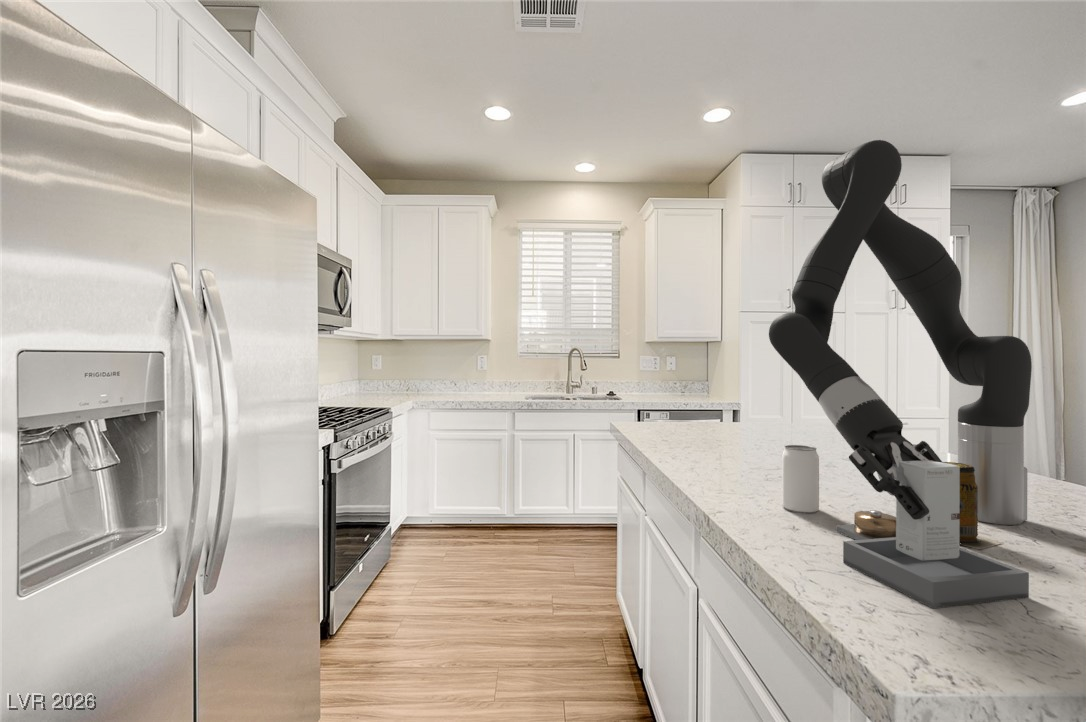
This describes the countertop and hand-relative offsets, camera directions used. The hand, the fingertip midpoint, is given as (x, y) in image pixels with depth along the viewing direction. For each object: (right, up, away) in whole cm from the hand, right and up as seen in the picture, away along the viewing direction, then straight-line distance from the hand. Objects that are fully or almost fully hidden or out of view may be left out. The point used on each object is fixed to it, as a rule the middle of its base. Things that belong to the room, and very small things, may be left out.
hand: (940, 513), depth 68 cm
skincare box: (-1, -6, +2) cm, 6 cm away
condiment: (+16, -9, +17) cm, 25 cm away
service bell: (+3, -9, +17) cm, 20 cm away
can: (-2, -9, +34) cm, 35 cm away
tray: (0, -9, +2) cm, 9 cm away
